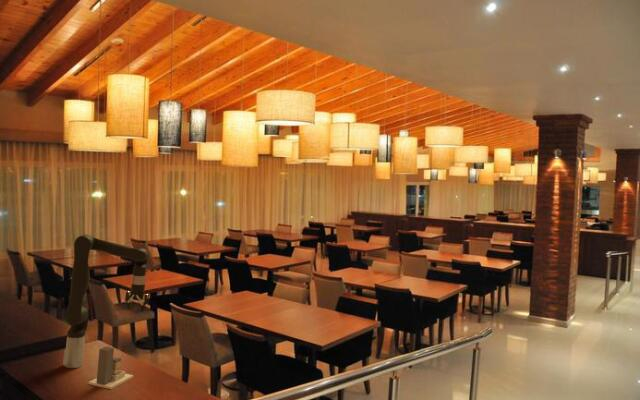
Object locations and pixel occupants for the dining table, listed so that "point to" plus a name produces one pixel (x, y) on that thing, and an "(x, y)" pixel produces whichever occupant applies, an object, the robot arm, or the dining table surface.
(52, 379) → the dining table surface
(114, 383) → the grey pillar stand
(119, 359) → the rail end
